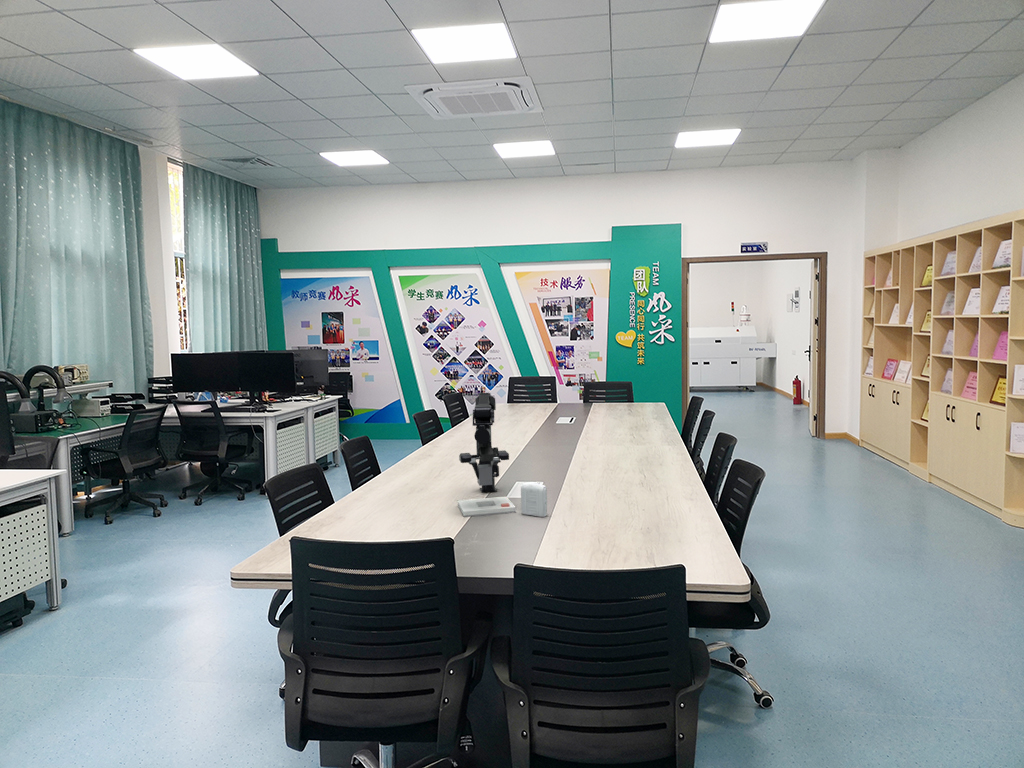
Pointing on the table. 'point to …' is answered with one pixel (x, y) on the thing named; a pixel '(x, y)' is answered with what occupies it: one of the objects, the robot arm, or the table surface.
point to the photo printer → (534, 499)
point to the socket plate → (486, 506)
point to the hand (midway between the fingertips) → (484, 478)
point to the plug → (484, 474)
